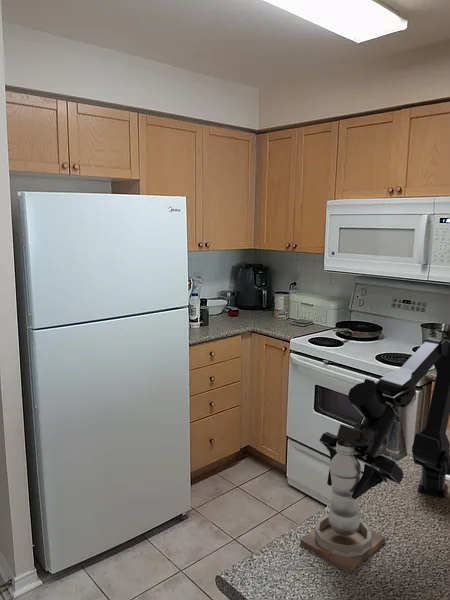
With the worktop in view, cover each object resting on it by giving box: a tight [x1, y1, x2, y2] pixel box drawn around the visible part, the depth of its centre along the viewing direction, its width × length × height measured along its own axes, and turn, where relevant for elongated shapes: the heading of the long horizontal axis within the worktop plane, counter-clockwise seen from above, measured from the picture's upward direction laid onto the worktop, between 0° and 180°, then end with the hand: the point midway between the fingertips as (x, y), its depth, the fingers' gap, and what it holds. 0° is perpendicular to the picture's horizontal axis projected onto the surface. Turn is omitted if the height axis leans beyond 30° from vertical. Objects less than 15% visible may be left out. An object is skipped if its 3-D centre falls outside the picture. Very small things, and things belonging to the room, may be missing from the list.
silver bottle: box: [328, 439, 362, 536], centre depth 102 cm, size 6×7×20 cm
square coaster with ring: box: [299, 514, 386, 574], centre depth 103 cm, size 14×12×3 cm
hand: (340, 491), depth 101 cm, fingers closed on silver bottle, 6 cm apart
